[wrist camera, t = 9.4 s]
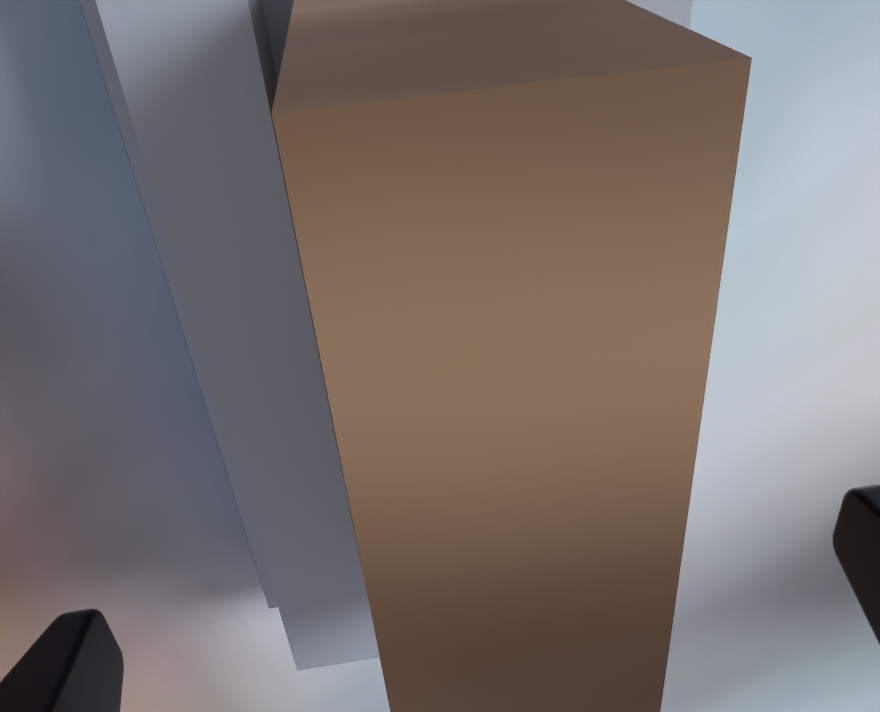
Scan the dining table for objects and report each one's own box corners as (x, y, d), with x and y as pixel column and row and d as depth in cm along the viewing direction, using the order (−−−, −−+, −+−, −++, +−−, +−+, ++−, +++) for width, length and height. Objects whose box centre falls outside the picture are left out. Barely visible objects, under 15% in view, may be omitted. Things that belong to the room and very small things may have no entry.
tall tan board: (509, 486, 19) (633, 898, 11) (387, 505, 19) (431, 936, 11) (489, -63, 12) (751, 57, 5) (299, -43, 12) (263, 114, 5)
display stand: (623, 518, 22) (665, 609, 19) (271, 573, 21) (264, 675, 18) (683, -308, 12) (789, -358, 9) (25, -254, 11) (-67, -289, 9)
